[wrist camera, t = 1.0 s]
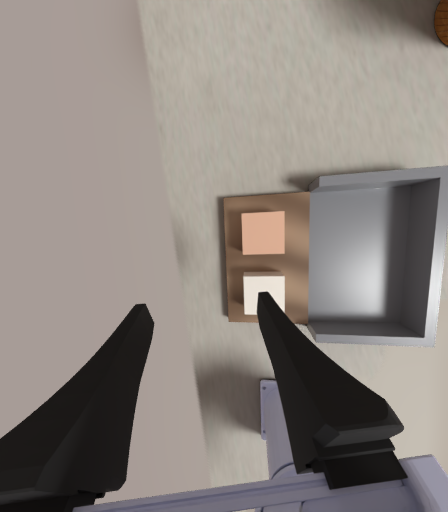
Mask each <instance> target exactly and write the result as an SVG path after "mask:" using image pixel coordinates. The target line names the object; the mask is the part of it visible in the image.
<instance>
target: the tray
mask: <svg viewBox="0 0 448 512" xmlns="http://www.w3.org/2000/svg"><path fill="white" fill-rule="evenodd" d="M309 192H310V221H309V287H308V324H307V328H308V330H309V331H310V333H311V335H312V337H313V338H314V340H315V342H318V343H342V344H366V345H390V346H414V347H435V339H436V329H437V320H438V311H439V302H440V293H441V284H442V275H443V266H444V256H445V247H446V238H447V229H448V166H436V167H424V168H412V169H400V170H389V171H377V172H365V173H353V174H341V175H329V176H319V177H318V178H317V179H316V180H314V181H313V182H312V183H311V184H309Z"/></svg>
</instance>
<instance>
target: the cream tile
mask: <svg viewBox="0 0 448 512" xmlns="http://www.w3.org/2000/svg"><path fill="white" fill-rule="evenodd" d="M243 279H244V311H245V314H248V315H257V301H258V292H266V291H268V292H269V293H270V295H271V296H272V297H273V299H274V300H275V301H276V303H277V304H278V305H279V307H280V308H281V309H282V310H283V312H284V313H285V276H284V275H283V274H282V272H281V271H275V272H244V276H243Z"/></svg>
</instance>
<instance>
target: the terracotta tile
mask: <svg viewBox="0 0 448 512" xmlns="http://www.w3.org/2000/svg"><path fill="white" fill-rule="evenodd" d="M242 247H243V255H252V254H285V211H277V212H260V213H243V214H242Z"/></svg>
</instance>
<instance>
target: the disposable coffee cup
mask: <svg viewBox="0 0 448 512" xmlns="http://www.w3.org/2000/svg"><path fill="white" fill-rule="evenodd" d="M434 24H435V30H436V33H437V35H438V37H439V38H440V40H441V41H442V42H443V43H444V44H446V45H447V46H448V0H441V1H440V3H439V4H438V7H437V9H436V12H435V20H434Z"/></svg>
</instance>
